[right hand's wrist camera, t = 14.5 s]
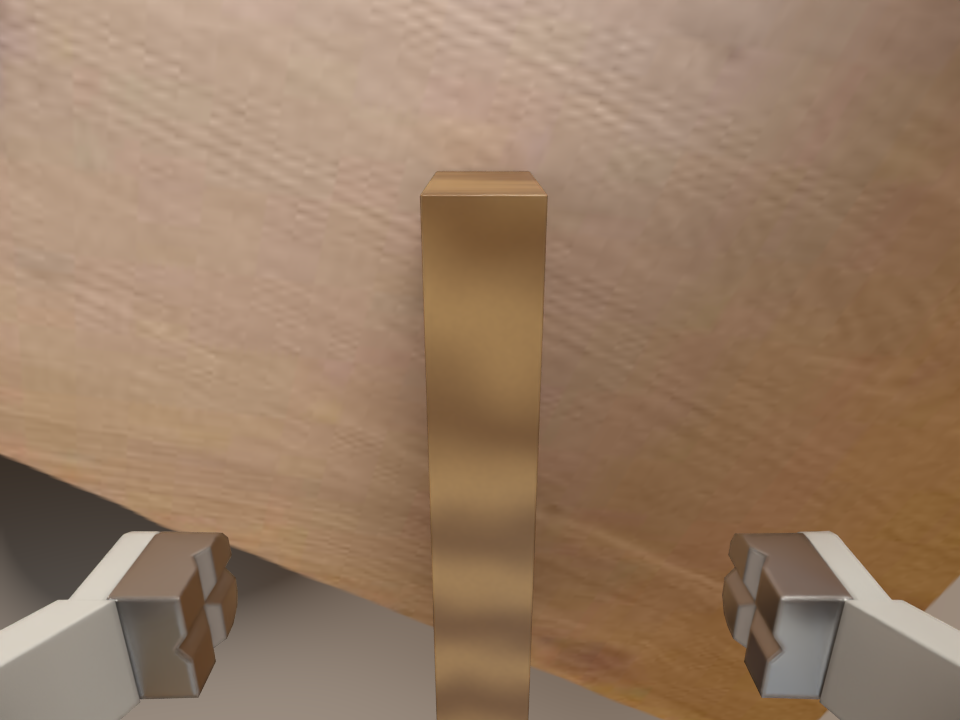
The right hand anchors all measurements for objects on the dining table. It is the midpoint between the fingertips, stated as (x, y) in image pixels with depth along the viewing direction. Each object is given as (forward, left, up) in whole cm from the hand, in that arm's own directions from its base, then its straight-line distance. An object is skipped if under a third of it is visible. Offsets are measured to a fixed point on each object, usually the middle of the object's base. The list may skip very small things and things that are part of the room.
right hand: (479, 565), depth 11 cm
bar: (0, +9, -24) cm, 25 cm away
